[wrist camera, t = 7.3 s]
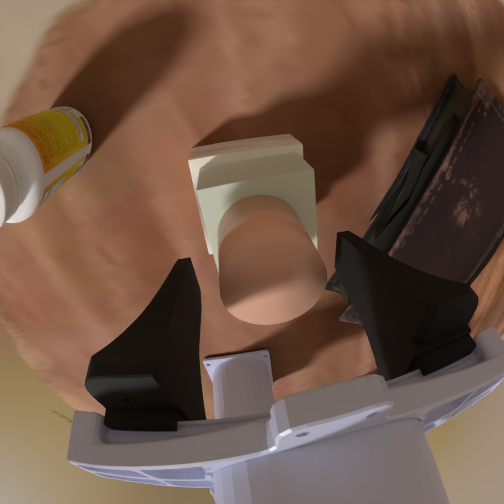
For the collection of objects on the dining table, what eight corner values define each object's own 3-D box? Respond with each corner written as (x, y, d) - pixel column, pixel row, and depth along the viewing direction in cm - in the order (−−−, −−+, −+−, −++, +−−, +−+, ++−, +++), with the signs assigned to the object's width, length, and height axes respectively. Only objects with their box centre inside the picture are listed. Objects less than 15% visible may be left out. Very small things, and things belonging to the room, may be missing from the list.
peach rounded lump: (301, 259, 17) (325, 313, 13) (225, 273, 17) (231, 332, 13) (298, 188, 14) (328, 233, 11) (209, 203, 14) (209, 254, 11)
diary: (513, 162, 23) (540, 180, 19) (417, 309, 35) (434, 335, 31) (441, 65, 16) (481, 73, 12) (315, 283, 28) (331, 320, 24)
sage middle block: (302, 233, 20) (317, 262, 17) (219, 249, 20) (221, 281, 17) (296, 151, 17) (313, 169, 14) (199, 168, 17) (196, 190, 14)
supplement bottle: (44, 99, 14) (-50, 134, 6) (103, 113, 16) (20, 153, 8) (32, 165, 17) (-46, 230, 9) (86, 181, 19) (19, 259, 11)
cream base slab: (293, 216, 23) (305, 238, 21) (209, 229, 23) (209, 254, 20) (288, 133, 19) (302, 144, 16) (192, 146, 19) (188, 160, 16)
